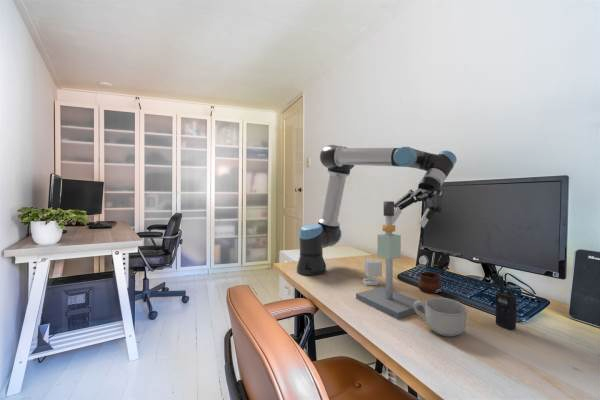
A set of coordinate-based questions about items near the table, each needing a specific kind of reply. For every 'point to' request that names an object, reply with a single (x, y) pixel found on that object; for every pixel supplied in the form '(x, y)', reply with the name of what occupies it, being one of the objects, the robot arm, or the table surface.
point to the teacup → (443, 315)
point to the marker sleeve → (389, 246)
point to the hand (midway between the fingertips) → (405, 223)
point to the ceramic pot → (429, 282)
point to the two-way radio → (505, 307)
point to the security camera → (372, 271)
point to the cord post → (389, 282)
